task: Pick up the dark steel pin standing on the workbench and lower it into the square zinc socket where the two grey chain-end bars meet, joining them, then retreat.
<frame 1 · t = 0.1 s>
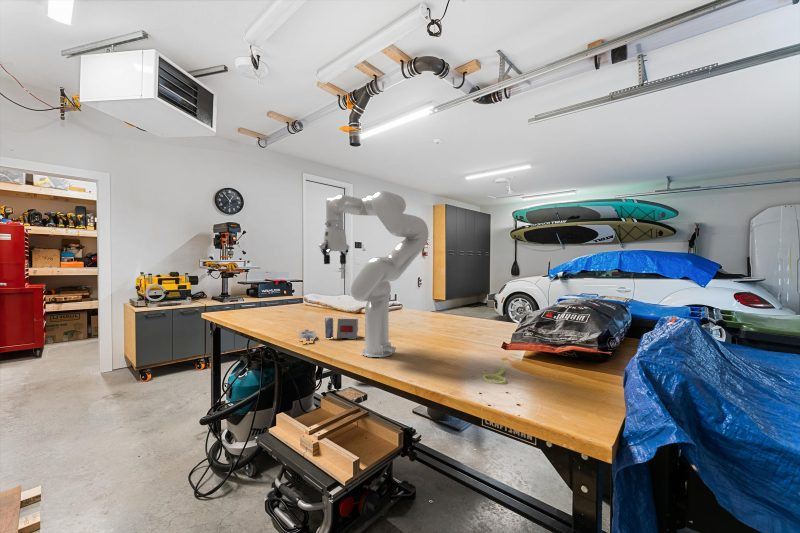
hand: (335, 263, 141), 37 cm above the table, tool pointing down, fingers open, 9 cm apart
pin: (329, 338, 152), on the table
chain ends: (307, 338, 153), on the table
voltmeter: (362, 337, 156), on the table
key: (497, 379, 100), on the table
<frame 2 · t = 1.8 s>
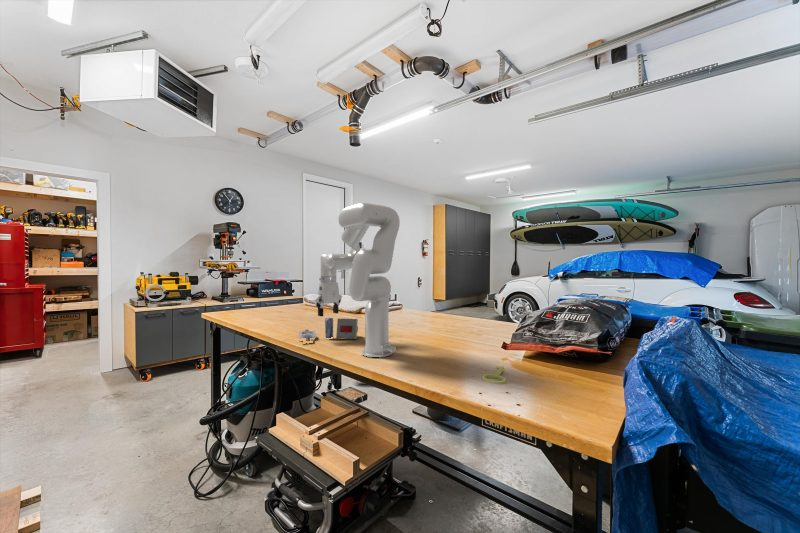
hand: (328, 314, 153), 12 cm above the table, tool pointing down, fingers open, 9 cm apart
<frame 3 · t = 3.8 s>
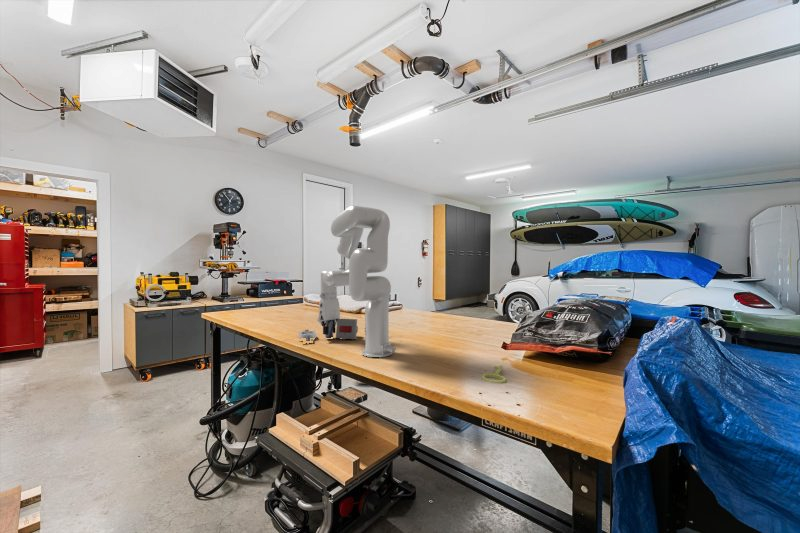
hand: (329, 333, 152), 3 cm above the table, tool pointing down, fingers closed on pin, 3 cm apart
pin: (329, 338, 152), on the table, touching gripper
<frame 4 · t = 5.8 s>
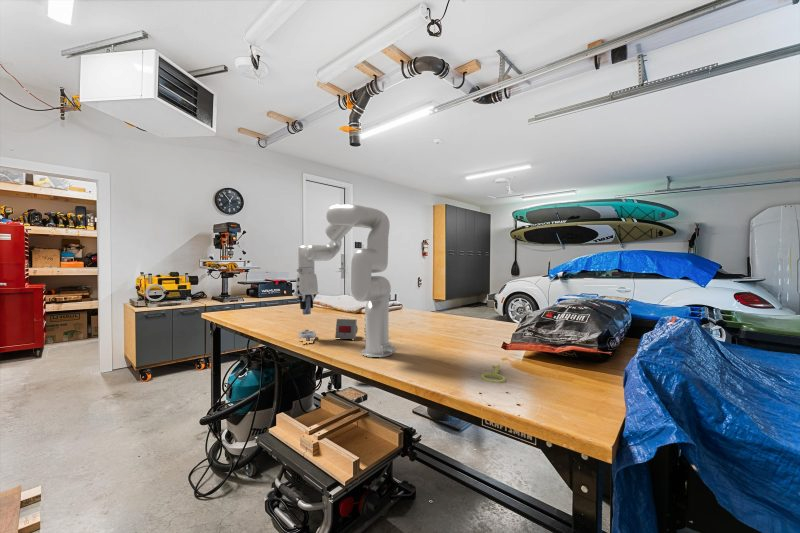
hand: (306, 308, 153), 15 cm above the table, tool pointing down, fingers closed on pin, 3 cm apart
pin: (306, 313, 153), point 12 cm above the table, touching gripper
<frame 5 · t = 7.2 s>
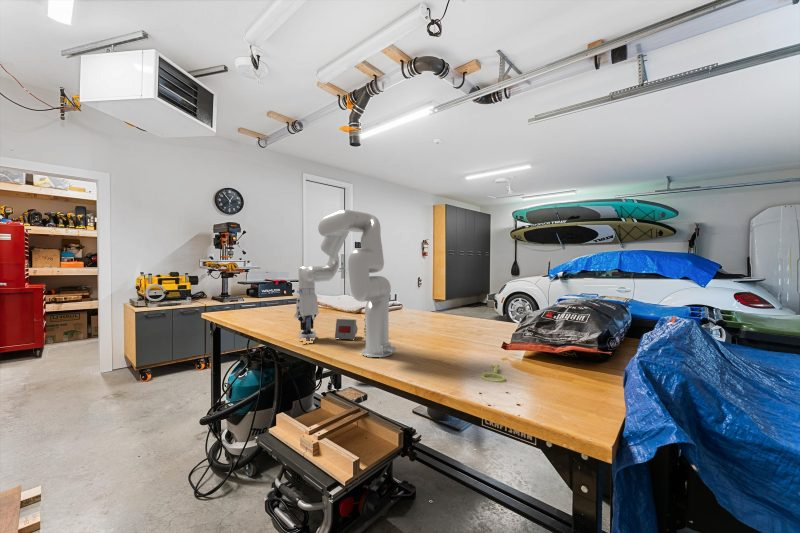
hand: (307, 328, 153), 5 cm above the table, tool pointing down, fingers closed on pin, 3 cm apart
pin: (307, 334, 153), point 2 cm above the table, touching gripper
when the fingers open (4 cm above the table, at t = 8.0 s): pin drops 1 cm, resting in chain ends.
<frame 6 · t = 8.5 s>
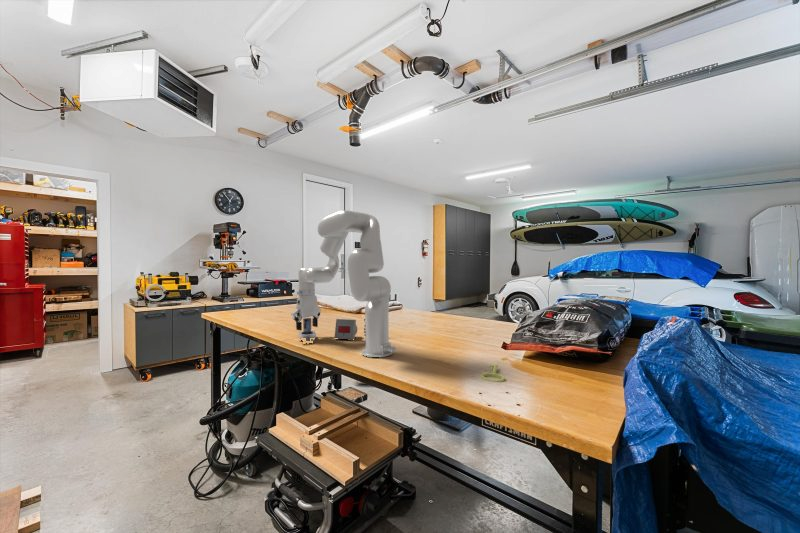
hand: (307, 328, 153), 5 cm above the table, tool pointing down, fingers open, 9 cm apart
pin: (307, 338, 153), resting in chain ends
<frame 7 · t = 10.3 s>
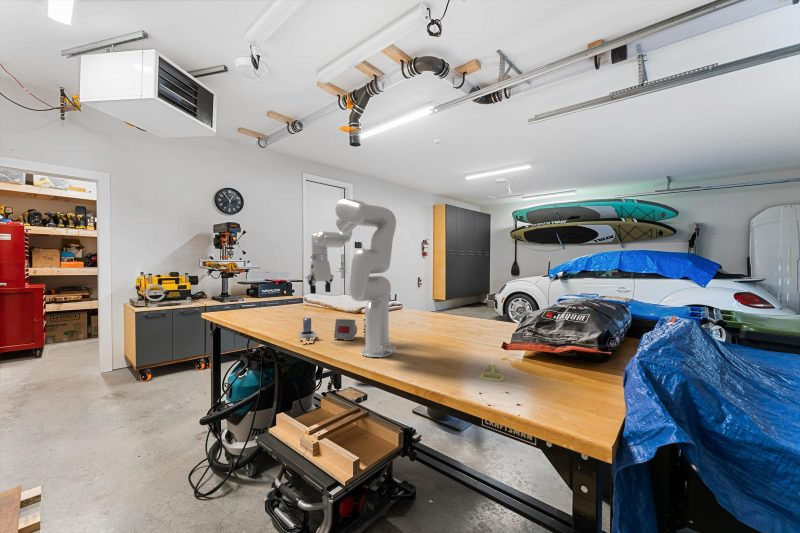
hand: (320, 292, 155), 22 cm above the table, tool pointing down, fingers open, 9 cm apart
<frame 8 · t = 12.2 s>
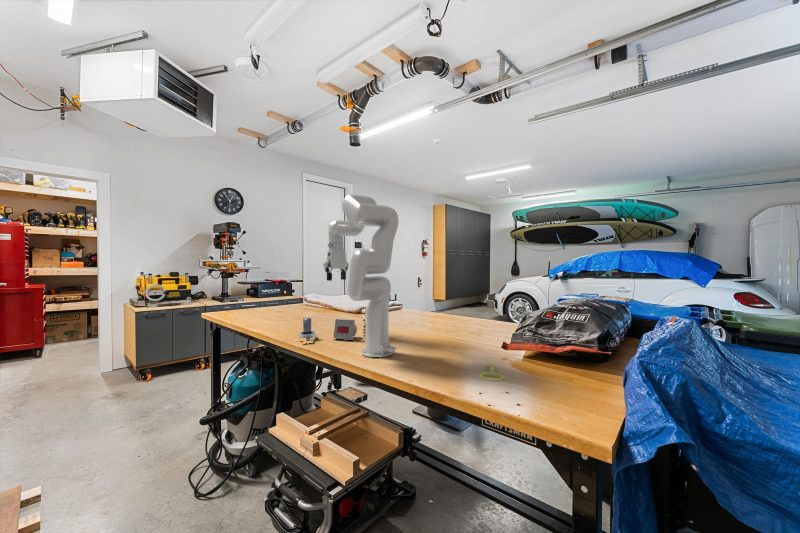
hand: (336, 280, 160), 28 cm above the table, tool pointing down, fingers open, 9 cm apart
at the end: pin 0.0 cm off-centre on the chain ends, point 0.0 cm above the chain ends's base; pin tilted 0°; the gripper is holding nothing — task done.
